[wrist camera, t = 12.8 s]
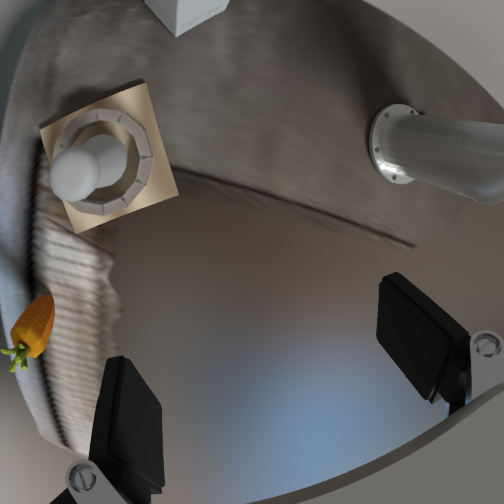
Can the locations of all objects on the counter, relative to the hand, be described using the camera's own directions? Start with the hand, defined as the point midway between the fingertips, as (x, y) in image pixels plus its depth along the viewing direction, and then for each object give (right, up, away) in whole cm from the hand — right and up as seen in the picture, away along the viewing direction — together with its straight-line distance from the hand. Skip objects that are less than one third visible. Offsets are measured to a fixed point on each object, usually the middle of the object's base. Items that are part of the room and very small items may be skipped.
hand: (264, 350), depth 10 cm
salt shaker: (-17, +14, +19) cm, 29 cm away
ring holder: (-17, +14, +20) cm, 30 cm away
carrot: (-29, -3, +25) cm, 38 cm away
